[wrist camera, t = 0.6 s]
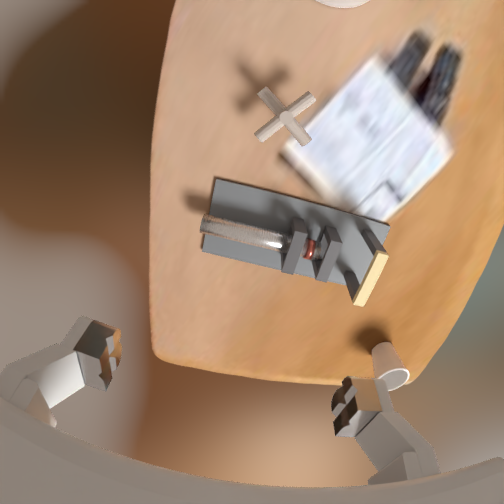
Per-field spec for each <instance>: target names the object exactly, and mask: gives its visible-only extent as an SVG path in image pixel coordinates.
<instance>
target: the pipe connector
mask: <svg viewBox="0 0 504 504" xmlns="http://www.w3.org/2000/svg"><path fill="white" fill-rule="evenodd" d="M257 95H258V96H259V97H260V98H261V99H262V100H263V102H264V103H265V104H266V105H267V106H268V107H269V108H270V109H271V110H272V112H273V113H274V114H275V115H276V116H275V117H274V118H272V119H271V120H270V121H269V122H267V123H266V124H265V125H264V126H262V127H261V128H260V129H259V130H257V131H256V132H255V133H254V134H255V136H256V137H257V138H258V139H259V140H260V141H261V142H264V141H265V140H266V139H267V138H269V137H270V136H271V135H272V134H274V133H275V132H276V131H277V130H279V129H280V128H281V127H283V126H284V125H285V127H286V128H287V129H288V130H289V131H290V133H291V134H292V135H293V136H294V137H295V138H296V140H297V141H298V142H299V143H300V145H301V146H305V145H306V144H308V143H309V142H310V141H311V140H312V139H311V137H310V136H309V135H308V134H307V132H306V131H305V130H304V129H303V128H302V126H301V125H300V124H299V123H298V122H297V120H296V119H295V118H294V117H296V116H297V115H298V114H299V113H301V112H302V111H303V110H305V109H306V108H307V107H309V106H310V105H311V104H313V103H314V102H315V101H316V99H315V98H314V96H313V95H312V94H311V93H310V92H309V91H308V92H306V93H305V94H304V95H302V96H301V97H300V98H298V99H297V100H296V101H294V102H293V103H292V104H290V105H289V106H288V107H285V106H284V105H283V104H282V103H281V102H280V101H279V99H278V98H277V97H276V96H275V95H274V94H273V93H272V92H271V91H270V89H269V88H268V87H267V86H266V87H265V88H264V89H262V90H261V91H260V92H259V93H257Z"/></svg>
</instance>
